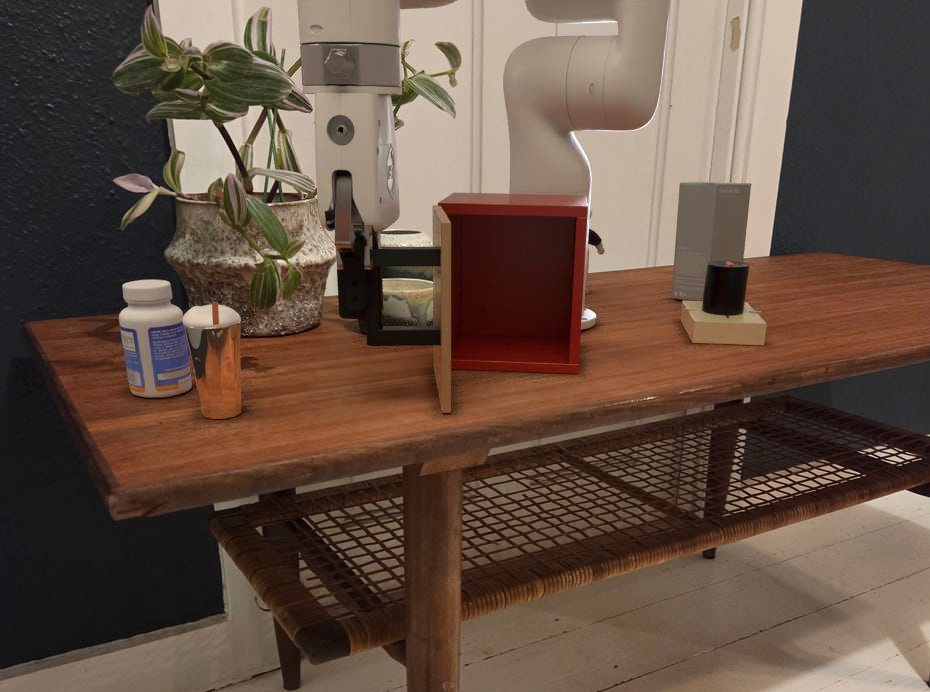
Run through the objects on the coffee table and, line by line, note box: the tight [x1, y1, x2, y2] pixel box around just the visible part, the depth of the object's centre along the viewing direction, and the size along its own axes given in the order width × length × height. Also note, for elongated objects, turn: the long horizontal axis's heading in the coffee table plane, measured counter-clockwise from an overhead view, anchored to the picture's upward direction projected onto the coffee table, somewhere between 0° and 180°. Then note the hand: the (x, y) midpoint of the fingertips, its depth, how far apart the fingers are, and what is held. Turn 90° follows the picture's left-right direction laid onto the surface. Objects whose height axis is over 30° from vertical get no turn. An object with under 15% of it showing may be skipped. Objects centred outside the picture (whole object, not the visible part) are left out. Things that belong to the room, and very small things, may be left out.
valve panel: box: [680, 300, 768, 346], centre depth 105 cm, size 12×9×3 cm
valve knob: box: [702, 261, 750, 315], centre depth 103 cm, size 5×5×6 cm
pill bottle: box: [118, 279, 193, 399], centre depth 79 cm, size 5×5×10 cm
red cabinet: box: [437, 192, 588, 375], centre depth 90 cm, size 12×14×16 cm
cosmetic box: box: [670, 181, 752, 301], centre depth 121 cm, size 8×7×16 cm
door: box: [365, 204, 452, 414], centre depth 78 cm, size 7×14×16 cm, turn 6°
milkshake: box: [182, 301, 242, 420], centre depth 72 cm, size 4×5×10 cm
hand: (361, 314), depth 74 cm, fingers closed
